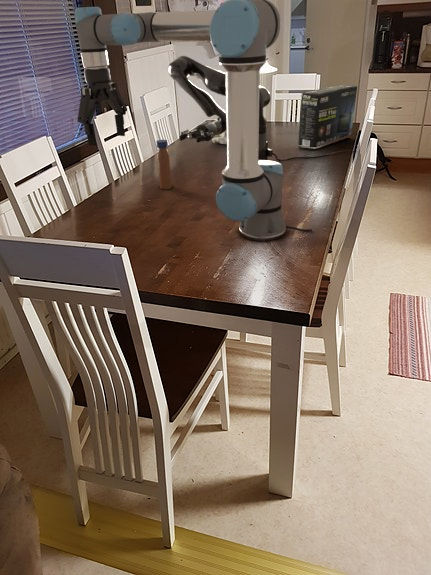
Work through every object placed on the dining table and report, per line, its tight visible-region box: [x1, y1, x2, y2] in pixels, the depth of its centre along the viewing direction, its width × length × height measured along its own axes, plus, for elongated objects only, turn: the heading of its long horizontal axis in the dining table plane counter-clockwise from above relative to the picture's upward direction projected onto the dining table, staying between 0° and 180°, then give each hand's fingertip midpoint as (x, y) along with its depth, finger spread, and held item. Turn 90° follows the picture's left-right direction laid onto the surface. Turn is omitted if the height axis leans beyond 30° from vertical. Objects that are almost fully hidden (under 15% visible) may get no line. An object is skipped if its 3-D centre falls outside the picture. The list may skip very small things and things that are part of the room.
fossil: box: [211, 130, 227, 145], centre depth 252 cm, size 18×11×15 cm
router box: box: [297, 84, 358, 151], centre depth 238 cm, size 36×11×27 cm, turn 134°
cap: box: [155, 139, 169, 149], centre depth 182 cm, size 4×4×2 cm
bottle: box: [156, 147, 173, 190], centre depth 187 cm, size 5×5×19 cm
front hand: (107, 140), depth 148 cm, fingers open, 13 cm apart
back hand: (188, 139), depth 200 cm, fingers open, 8 cm apart
